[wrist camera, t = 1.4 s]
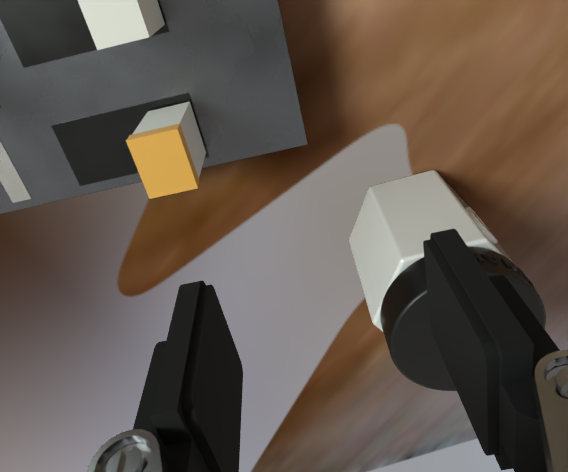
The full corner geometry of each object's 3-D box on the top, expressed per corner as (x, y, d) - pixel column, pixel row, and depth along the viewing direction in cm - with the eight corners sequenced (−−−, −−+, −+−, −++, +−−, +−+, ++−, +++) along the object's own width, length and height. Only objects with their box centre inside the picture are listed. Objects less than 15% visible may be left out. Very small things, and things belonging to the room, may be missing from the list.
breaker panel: (260, -80, 26) (260, -83, 23) (303, 125, 32) (307, 144, 29) (-88, 11, 28) (-131, 20, 25) (12, 191, 33) (-13, 216, 30)
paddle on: (190, 100, 27) (177, 128, 23) (207, 152, 29) (197, 188, 24) (146, 110, 27) (125, 140, 23) (165, 162, 29) (149, 198, 25)
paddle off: (143, -43, 24) (123, -40, 20) (164, 24, 25) (149, 37, 22) (95, -30, 24) (67, -26, 20) (119, 35, 25) (97, 50, 22)
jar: (490, 225, 36) (581, 338, 26) (403, 291, 39) (454, 416, 29) (416, 144, 33) (487, 236, 23) (326, 222, 36) (352, 337, 25)
